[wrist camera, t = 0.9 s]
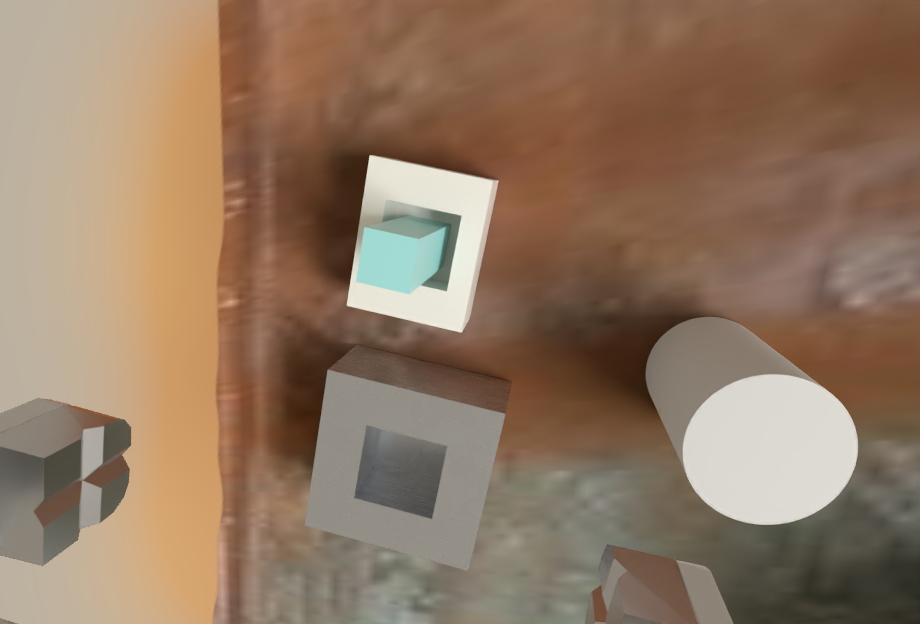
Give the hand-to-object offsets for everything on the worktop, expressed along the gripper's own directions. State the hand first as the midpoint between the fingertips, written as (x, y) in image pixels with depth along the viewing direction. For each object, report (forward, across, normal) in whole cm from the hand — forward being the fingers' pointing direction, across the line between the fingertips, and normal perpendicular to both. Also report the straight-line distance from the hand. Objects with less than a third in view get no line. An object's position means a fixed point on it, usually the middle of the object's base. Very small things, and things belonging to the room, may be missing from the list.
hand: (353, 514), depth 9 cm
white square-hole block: (+32, +6, 0) cm, 33 cm away
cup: (+33, -16, +5) cm, 36 cm away
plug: (+31, +6, 0) cm, 32 cm away
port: (+32, +4, +15) cm, 36 cm away
